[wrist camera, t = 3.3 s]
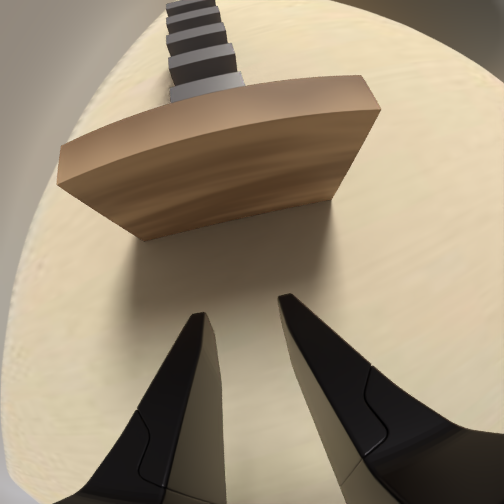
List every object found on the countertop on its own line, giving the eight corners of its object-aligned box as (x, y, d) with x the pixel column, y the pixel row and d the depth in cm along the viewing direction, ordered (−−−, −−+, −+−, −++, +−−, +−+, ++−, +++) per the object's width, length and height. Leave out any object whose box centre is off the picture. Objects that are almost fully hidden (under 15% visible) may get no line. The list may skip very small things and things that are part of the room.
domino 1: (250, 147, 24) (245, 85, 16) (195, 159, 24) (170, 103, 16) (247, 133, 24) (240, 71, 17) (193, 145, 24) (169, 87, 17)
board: (331, 199, 23) (381, 109, 11) (144, 241, 23) (56, 184, 11) (323, 174, 23) (361, 75, 12) (141, 215, 23) (61, 146, 12)
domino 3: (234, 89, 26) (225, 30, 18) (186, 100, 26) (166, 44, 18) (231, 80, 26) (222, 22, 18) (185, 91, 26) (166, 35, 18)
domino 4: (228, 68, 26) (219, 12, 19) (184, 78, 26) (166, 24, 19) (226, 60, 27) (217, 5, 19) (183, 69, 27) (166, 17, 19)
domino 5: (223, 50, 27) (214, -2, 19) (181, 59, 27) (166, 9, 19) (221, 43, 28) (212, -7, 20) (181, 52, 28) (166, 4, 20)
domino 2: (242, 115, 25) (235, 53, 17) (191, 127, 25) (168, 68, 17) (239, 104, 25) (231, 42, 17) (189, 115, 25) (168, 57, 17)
